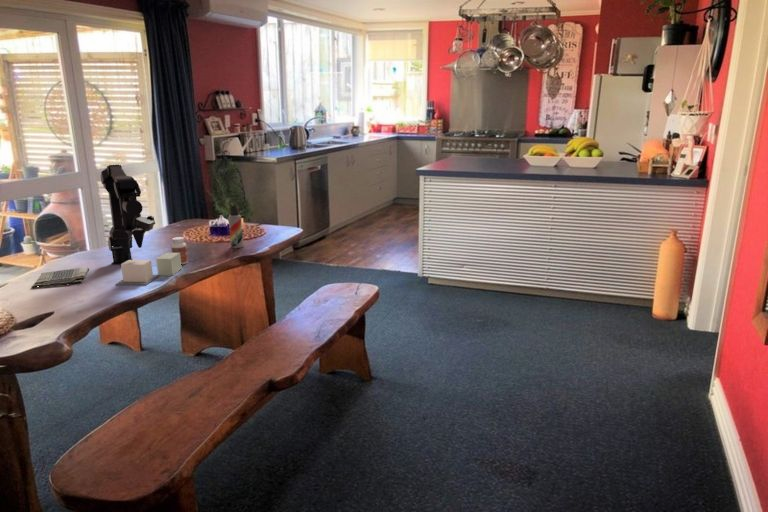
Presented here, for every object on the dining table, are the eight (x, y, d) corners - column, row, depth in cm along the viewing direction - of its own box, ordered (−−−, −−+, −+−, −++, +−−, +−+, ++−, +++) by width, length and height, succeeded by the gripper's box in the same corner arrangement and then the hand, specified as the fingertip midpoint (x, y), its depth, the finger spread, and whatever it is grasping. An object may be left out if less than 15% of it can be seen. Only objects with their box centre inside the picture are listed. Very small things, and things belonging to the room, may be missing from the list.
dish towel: (41, 276, 226) (39, 269, 226) (90, 271, 232) (89, 264, 232) (31, 290, 210) (29, 282, 209) (84, 285, 216) (83, 277, 215)
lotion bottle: (231, 248, 264) (227, 206, 259) (230, 245, 270) (227, 204, 264) (243, 247, 266) (240, 206, 260) (243, 244, 271) (239, 204, 266)
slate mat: (115, 285, 214) (115, 284, 214) (131, 275, 225) (130, 274, 225) (146, 285, 213) (146, 284, 213) (160, 275, 225) (160, 274, 224)
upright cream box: (123, 281, 216) (120, 264, 215) (131, 276, 222) (128, 259, 220) (146, 281, 216) (143, 264, 214) (153, 277, 222) (150, 260, 220)
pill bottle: (190, 263, 241) (187, 238, 238) (175, 265, 238) (172, 240, 235) (186, 260, 246) (183, 235, 243) (171, 262, 243) (168, 237, 240)
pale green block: (172, 275, 225) (170, 258, 223) (158, 275, 225) (156, 258, 223) (181, 268, 233) (180, 252, 231) (167, 268, 234) (165, 252, 232)
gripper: (138, 216, 203) (143, 257, 207) (160, 206, 221) (165, 244, 225) (108, 216, 204) (114, 257, 208) (133, 206, 222) (138, 244, 226)
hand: (134, 250), depth 217 cm, fingers open, 9 cm apart
